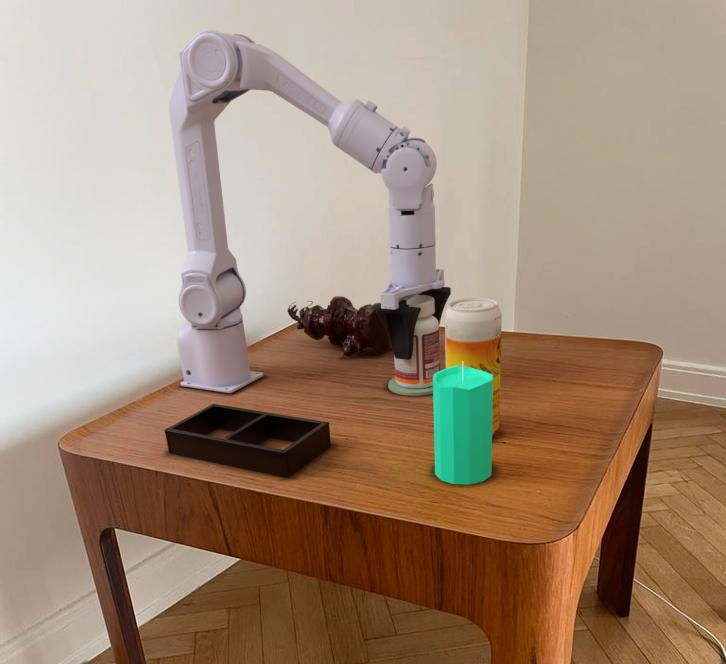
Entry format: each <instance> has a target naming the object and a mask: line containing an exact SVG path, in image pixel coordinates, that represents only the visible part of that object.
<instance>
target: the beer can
mask: <svg viewBox="0 0 726 664" xmlns="http://www.w3.org/2000/svg"><path fill="white" fill-rule="evenodd" d="M502 315H503V314H502V310H501V309H500V306H499V303H498V301H497V300H495V299H492V298H486V297H485V298H484V297H468V298H460V299H457V300H453V301H451V302H449V303H448V307H447V309H446V312H445V314H444V341H445V342H444V343H445V344H444V346H445V369H447V368H450V367H454V366H462V361H464V367H470V368H475V369H478V370H481V371H485V372H487V373H490V374H492V375H493V411H492V436H493V435H494V434H495V433H496V431H497V430H498V429H499V428H500V416H501V415H500V414H501V413H500V411H501V365H502V364H501V363H502V319H503V317H502Z"/></svg>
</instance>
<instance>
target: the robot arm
mask: <svg viewBox="0 0 726 664" xmlns="http://www.w3.org/2000/svg"><path fill="white" fill-rule="evenodd" d="M178 57H179V69H178V72H177V74H176V78H175V81H174V84H173V88H172V91H171V94H170V98H169V101H168V113H169V120H170V128H171V135H172V142H173V143H172V144H173V149H174V157H175V165H176V172H177V180H178V187H179V194H180V201H181V211H182V216H183V217H182V218H183V223H184V224H183V225H184V232H185V240H186V247H187V256H186V258H185V261H184V263H183V266H182V269H181V271H180V277H181V289H180V292H179V294H178V307H179V310H180V312H181V314H182V316H183V318H184V319H186V321H185V322H184V323H182V325H181V326H180V328H179V329H178V333H177V339H176V340H177V341H176V342H177V343H176V344H177V351H178V354H179V355H178V356H179V360H180V361H179V362H180V366H181V371H182V377H183V381H181V382H180V386H181V387H186V388H191V389H192V388H193V389H197V390H205V391H211V392H218V393H225V394H232V393H234V392H237V391H238V390H240V389H242V388H244V387H246V386H247V385H249V384H251V383H253V382H255V381H257V380H259V379H261V378H262V377H264V373H263V372H261V371H260V372H259V371H253V370H251V367H250V362H249V361H250V360H249V353H248V347H247V341H246V340H247V339H246V332H245V325H244V318H243V317H244V316H243V314H242V312H241V307H242V305H243V304H244V302H245V300H246V296H247V288H246V285H245V281H244V280H243V278H242V276H241V274H240V273H239V269H238V264H237V263H238V262H237V259H236V257H235V256H234V255H233V253H232V251H231V250H230V249H229V245H228V243H229V242H228V235H227V225H226V217H225V216H226V215H225V208H224V198H223V190H222V181H221V171H220V170H221V169H220V161H219V152H218V144H217V135H216V134H217V133H216V126H215V121H216V120H217V118H218V117H219V116H220V115H221V114H222V112H224V110H225V109H226V108H227V107H228V105H229V104H230V103H231V102H232V101H233V100H235V99H237V98H239V97H241V96H242V95H245V94H247V93H248V92H249V91H252V90H253V91H267V92H271V93H273V94H275V96H278V97H279V98H281V99H283V100H284V101H286V102H287V103H289V104H291V105H292V106H294V107H296V108H297V109H298V110H300V111H301V112H303V113H305V114H306V115H308V116H310V117H311V118H313V119H314V120H316V121H318V122H319V123H320V124H322V125H323V126H326V127H327V129H328V131H329V135H330V138H331V139H330V140H331V142H332V145H333V146H335V147H336V148H338V149H339V150H341V151H342V152H344V153H345V154H346V155H348V156H349V157H351V158H352V159H354V160H355V161H356V162H358V163H360V164H361V165H362V166H364V167H365V168H367V169H368V170H370V171H371V172H373V173H374V174H381V178H382V181H383V183H384V185H385V186H386V188H387V190H388V205H389V207H388V209H387V210H388V211H387V212H388V231H389V253H390V276H391V279H390V282H389V283H388V285H387V286H386V288H385V290H383V291H382V292H380V302H379V303H380V304H378V305H376V306H375V307H376V314H377V315H378V317H379V318H380V320H381V321H382V323H383V325H384V327H385V329H386V331H387V334H388V336H389V339H390V343H391V349H392V352H393V357H394V356H395V358H396V359H405V360H409V359H411V357H412V352H413V341H414V331H415V326H416V321H417V318H418V315H419V313H420V311H421V308H418V307H409V304H407V300H409V299H411V298H413V297H415V296H416V295H426V296H430V297H433V298H434V305H435V313H434V314H432V316H434V317H435V318H436V319H437V320H438V322H439V326H441V325H440V323H441V320H442V315H443V312H444V310H445V307H446V304H447V302H448V300H449V298H450V296H451V293H452V288H451V287H450V286H445V269H444V268H437V255H436V254H437V253H436V251H437V250H436V207H435V203H434V198H435V190H434V184H433V183H431V182H432V181H433V179H434V177H435V175H436V172H437V165H438V162H437V156H436V153H435V152H434V150H433V148H432V147H431V146H430V145H429V144H428V143H427V142H426V140H425V139H423V138H421V137H409V136H410V134H411V130H410V129H409V128H408V127H406V126H402V127H401V128H400V127H399V126H397V125H395V124H394V123H393V122H391V121H390V120H389V119H387V118H385V116H383V115H381V114H380V113H378V112H377V109H378V105H377V104H376V103H375V102H373V101H371V100H366V101H365V102H363V101H362V100H360V99H359V98H357V99H356V98H355V99H352V100H349V101H346V102H343V101H341V100H340V99H339V98H337V97H336V96H334V95H333V94H332V93H331V92H329V91H328V90H326V89H325V88H324V87H323V86H321V85H320V84H319V83H317V82H316V81H315V80H313V79H312V78H310V76H308V75H306V74H305V73H304V72H303V71H301V69H299V68H298V67H297V66H296V65H294V64H293V63H291V62H289V61H288V60H287V59H286V58H284V57H283V56H282V55H280V54H279V53H277V52H275V51H274V50H272V49H270V48H269V47H267V46H265V45H263V44H261V43H256V42H255V41H254V40H253V39H252V38H250V37H249V36H248V35H245V34H240V33H233V34H232V33H225V32H221V31H219V30H215V29H205V30H200V31H199V32H197V33H196V34H195V35H193V37H192V38H191V39H190V40H189V41H188V42H187V43H186V44H185V46H183V48H182V49H181V50H180V51H179V52H178Z"/></svg>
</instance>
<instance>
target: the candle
mask: <svg viewBox="0 0 726 664" xmlns="http://www.w3.org/2000/svg"><path fill="white" fill-rule="evenodd" d="M432 402H433V403H432V405H433V441H434V442H433V445H434V447H433V448H434V475H435V476H436V477H437V478H438V479H439V480H440V481H442V482H446V483H449V484H452V485H474V484H478V483H482V482H484V481H486V480H488V478H490V477H491V476H492V470H493V468H492V467H493V435H492V411H493V375H492V374H490V373H487V372H485V371H481V370H478V369H475V368H470V367H464V361H462V366H454V367H450V368H447V369H446V368H444V369H440V371H439V372H436V373H434V377H433V394H432Z"/></svg>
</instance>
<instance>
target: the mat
mask: <svg viewBox="0 0 726 664" xmlns="http://www.w3.org/2000/svg"><path fill="white" fill-rule="evenodd" d="M387 387H388V390H389V391H390V392H392V393H394V394H395V395H401V396H407V397H420V396H421V397H422V396H428V395H433V386H430V387H427V388H405V387H402V386H400V385H398V384H397V382H396V379H395V376H394V377H393V378H391V379H390V380H389V381H388V383H387Z"/></svg>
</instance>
